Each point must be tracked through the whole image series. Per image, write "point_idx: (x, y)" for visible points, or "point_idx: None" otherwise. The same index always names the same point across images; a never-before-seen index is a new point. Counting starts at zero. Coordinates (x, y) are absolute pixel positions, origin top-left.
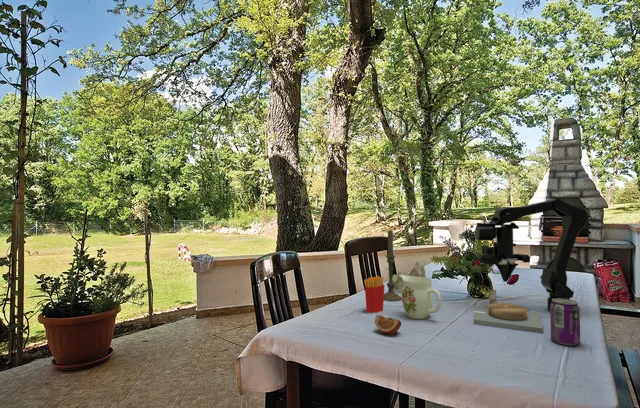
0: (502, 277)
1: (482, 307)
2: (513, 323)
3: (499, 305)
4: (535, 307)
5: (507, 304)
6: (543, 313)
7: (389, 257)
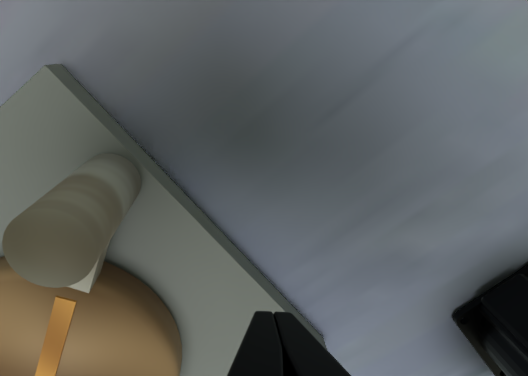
0: (238, 358)
1: (29, 137)
2: None
3: (20, 342)
4: (503, 203)
5: (112, 340)
6: (402, 309)
7: None
